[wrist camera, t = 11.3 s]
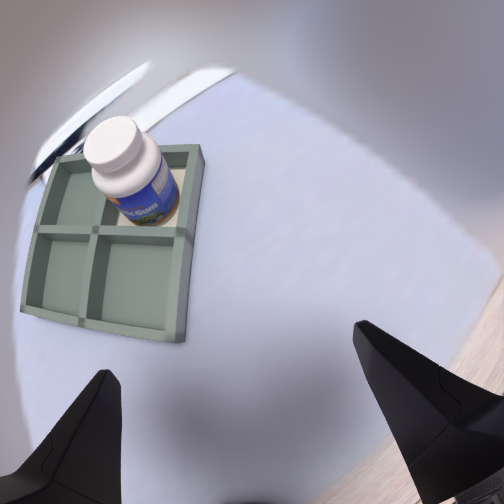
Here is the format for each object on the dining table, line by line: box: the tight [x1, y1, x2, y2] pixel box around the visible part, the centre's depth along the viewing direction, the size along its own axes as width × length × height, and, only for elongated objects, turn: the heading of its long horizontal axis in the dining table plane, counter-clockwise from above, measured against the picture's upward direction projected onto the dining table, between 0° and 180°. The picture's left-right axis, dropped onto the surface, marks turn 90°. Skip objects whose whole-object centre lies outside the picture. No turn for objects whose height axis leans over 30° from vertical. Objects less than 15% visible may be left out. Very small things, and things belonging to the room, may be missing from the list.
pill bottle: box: [84, 116, 180, 227], centre depth 20 cm, size 5×5×10 cm
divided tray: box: [20, 144, 205, 343], centre depth 23 cm, size 16×16×3 cm
